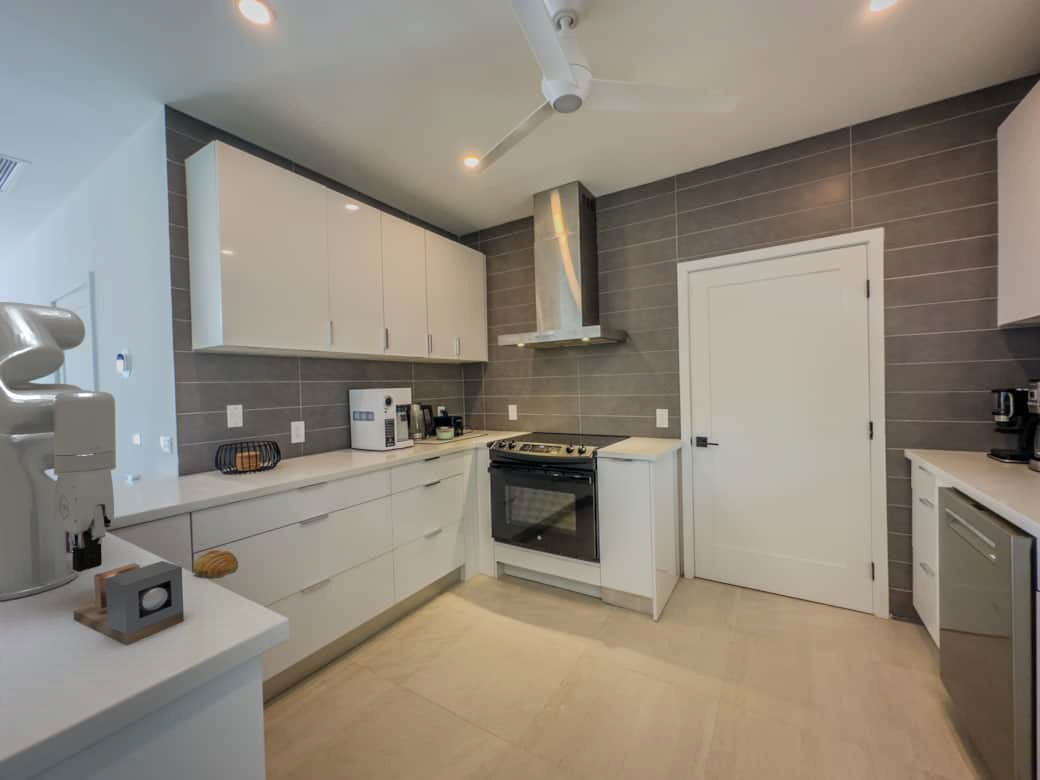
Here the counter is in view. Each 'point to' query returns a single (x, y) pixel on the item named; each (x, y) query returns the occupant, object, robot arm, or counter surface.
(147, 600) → the shaft
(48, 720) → the counter surface
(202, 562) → the pastry
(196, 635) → the counter surface
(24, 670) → the counter surface
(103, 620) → the shaft frame
